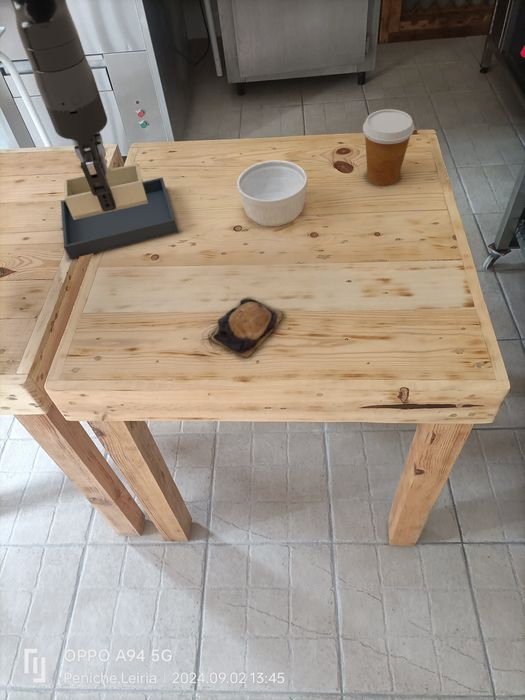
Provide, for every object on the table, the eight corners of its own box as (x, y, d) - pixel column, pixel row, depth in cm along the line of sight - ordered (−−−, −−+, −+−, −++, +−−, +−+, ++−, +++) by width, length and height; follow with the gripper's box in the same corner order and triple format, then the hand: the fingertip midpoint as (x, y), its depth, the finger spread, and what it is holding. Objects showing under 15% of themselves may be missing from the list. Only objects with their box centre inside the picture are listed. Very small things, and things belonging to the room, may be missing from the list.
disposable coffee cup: (368, 194, 106) (372, 138, 96) (353, 168, 112) (356, 113, 102) (413, 185, 106) (423, 128, 97) (397, 160, 112) (404, 104, 103)
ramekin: (240, 233, 101) (236, 203, 96) (241, 192, 110) (237, 162, 104) (310, 228, 101) (309, 197, 95) (305, 187, 109) (304, 156, 104)
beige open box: (73, 220, 84) (64, 198, 81) (72, 200, 88) (63, 179, 85) (148, 203, 86) (141, 181, 82) (144, 184, 89) (137, 163, 86)
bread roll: (246, 298, 91) (244, 282, 88) (286, 317, 87) (285, 302, 84) (206, 338, 86) (202, 323, 83) (247, 361, 82) (245, 345, 79)
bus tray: (69, 259, 101) (63, 247, 99) (66, 213, 110) (60, 200, 108) (178, 232, 103) (175, 219, 101) (165, 189, 113) (162, 177, 110)
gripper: (43, 77, 77) (83, 179, 90) (43, 125, 68) (87, 230, 81) (94, 67, 78) (126, 169, 91) (101, 113, 69) (136, 219, 82)
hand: (108, 198), depth 86 cm, fingers closed on beige open box, 5 cm apart
